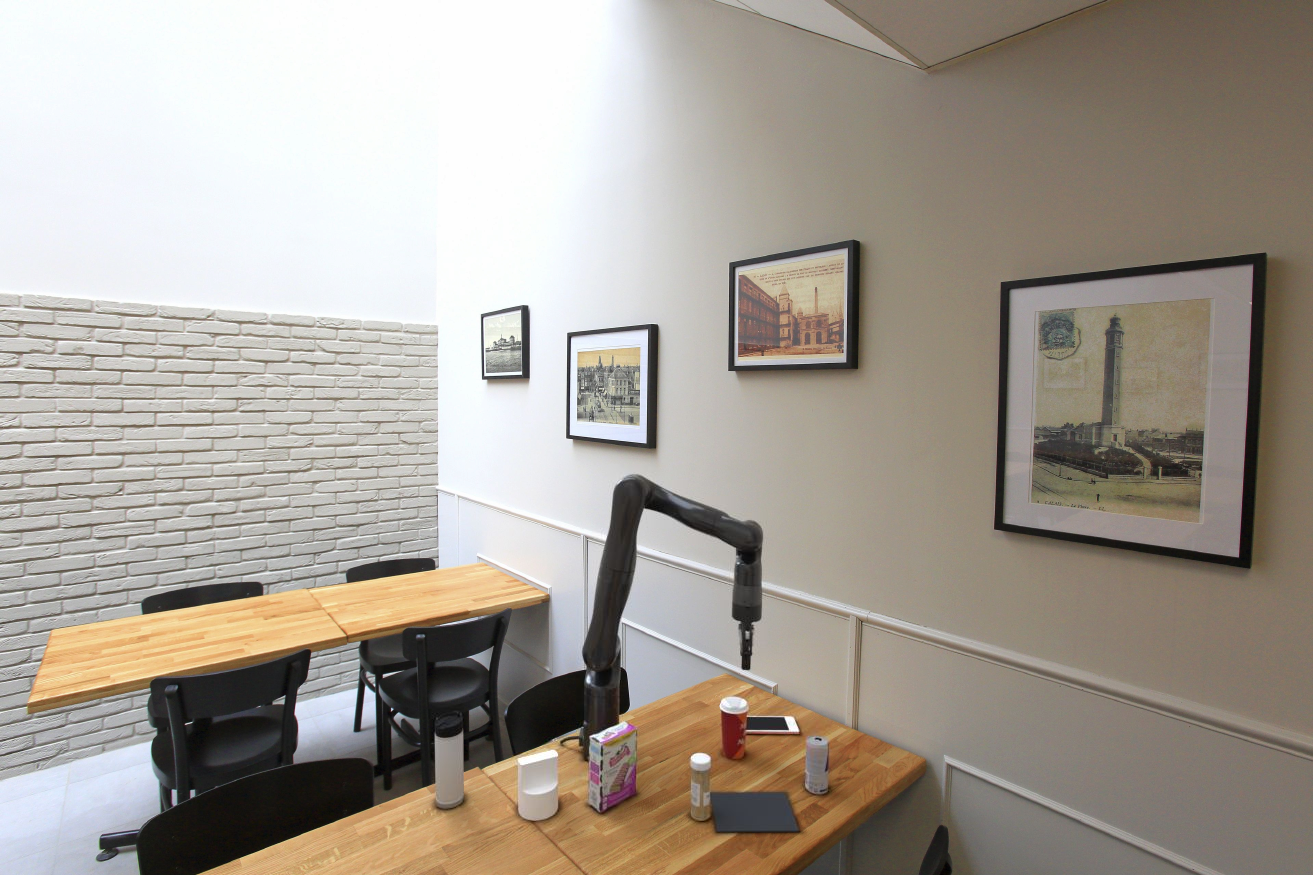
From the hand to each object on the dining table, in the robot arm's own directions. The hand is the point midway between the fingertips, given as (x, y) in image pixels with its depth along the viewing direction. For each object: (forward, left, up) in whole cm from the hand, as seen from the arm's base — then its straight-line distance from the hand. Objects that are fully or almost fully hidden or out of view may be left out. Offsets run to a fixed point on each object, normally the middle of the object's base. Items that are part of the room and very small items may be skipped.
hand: (745, 662), depth 166 cm
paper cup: (-2, +6, -27) cm, 28 cm away
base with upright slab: (-50, -17, -27) cm, 59 cm away
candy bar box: (-33, -14, -27) cm, 45 cm away
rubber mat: (-1, -19, -27) cm, 33 cm away
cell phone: (+9, +20, -27) cm, 35 cm away
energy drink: (+16, -10, -27) cm, 33 cm away
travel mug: (-71, -14, -27) cm, 77 cm away
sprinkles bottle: (-13, -20, -27) cm, 36 cm away
